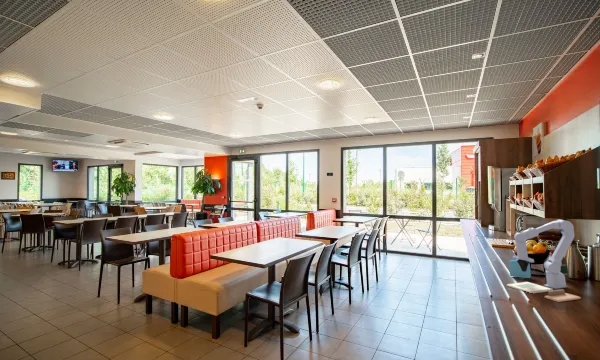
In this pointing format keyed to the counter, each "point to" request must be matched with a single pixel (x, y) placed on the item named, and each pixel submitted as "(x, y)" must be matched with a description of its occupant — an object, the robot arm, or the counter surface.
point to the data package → (518, 270)
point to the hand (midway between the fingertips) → (524, 271)
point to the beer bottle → (564, 267)
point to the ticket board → (529, 287)
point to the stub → (560, 296)
